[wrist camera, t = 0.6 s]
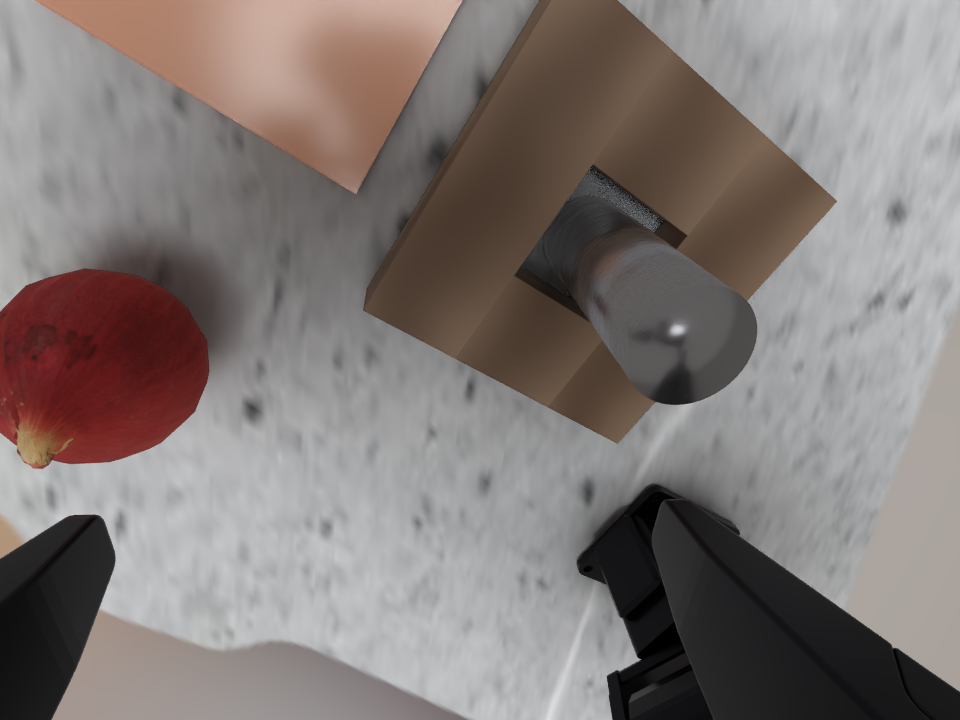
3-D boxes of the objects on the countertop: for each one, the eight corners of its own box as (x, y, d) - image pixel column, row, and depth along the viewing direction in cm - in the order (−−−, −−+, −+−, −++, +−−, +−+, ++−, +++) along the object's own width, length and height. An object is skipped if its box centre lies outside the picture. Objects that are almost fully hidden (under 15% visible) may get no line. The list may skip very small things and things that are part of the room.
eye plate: (801, 189, 21) (837, 201, 19) (602, 416, 25) (617, 443, 23) (557, -29, 17) (574, -39, 15) (366, 289, 21) (363, 310, 19)
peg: (642, 225, 21) (783, 326, 13) (590, 292, 22) (691, 423, 14) (578, 178, 20) (691, 259, 12) (526, 252, 21) (598, 370, 13)
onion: (29, 311, 20) (-177, 449, 13) (128, 204, 18) (-40, 294, 11) (171, 408, 22) (64, 568, 15) (267, 321, 21) (198, 452, 14)
